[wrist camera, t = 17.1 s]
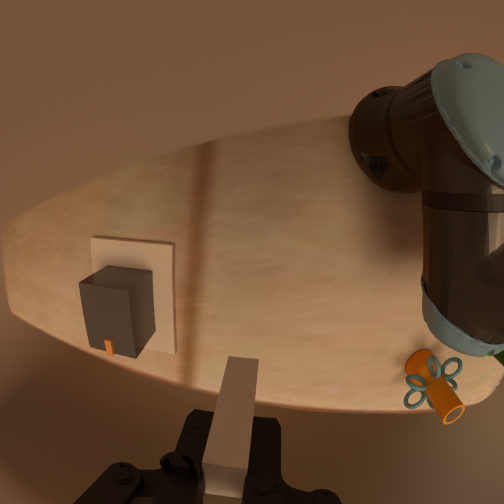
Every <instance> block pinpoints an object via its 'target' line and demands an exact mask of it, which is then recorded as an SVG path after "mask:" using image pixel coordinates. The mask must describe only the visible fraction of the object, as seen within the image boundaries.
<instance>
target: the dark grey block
mask: <svg viewBox="0 0 504 504" xmlns="http://www.w3.org/2000/svg"><path fill="white" fill-rule="evenodd" d="M79 288H80V296H81V302H82V308H83V314H84V320H85V325H86V330H87V335H88V340H89V344H90V347H93V348H96V349H100V350H103V351H107V354H108V355H112V356H113V355H114V354H119V355H123V356H127V357H131V358H135V359H136V358H137V357H138V356H139V354H140V353H141V351H142V350H143V348H144V347H145V345H146V344H147V343H148V341H149V340H150V338H151V337H152V336H153V334H154V333H155V331H156V326H155V312H154V295H153V271H150V270H142V269H134V268H126V267H118V266H111V265H107V266H105V267H104V268H102V269H100V270H99V271H97V272H95V273H94V274H92V275H90V276H89V277H87V278H85V279H84V280H82V281H81V282H79Z"/></svg>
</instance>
